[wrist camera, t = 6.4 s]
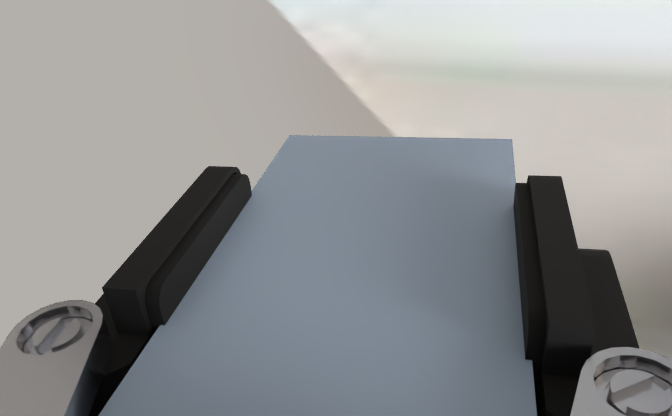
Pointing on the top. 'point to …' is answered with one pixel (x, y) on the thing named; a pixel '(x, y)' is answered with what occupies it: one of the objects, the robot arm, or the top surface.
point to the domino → (353, 292)
